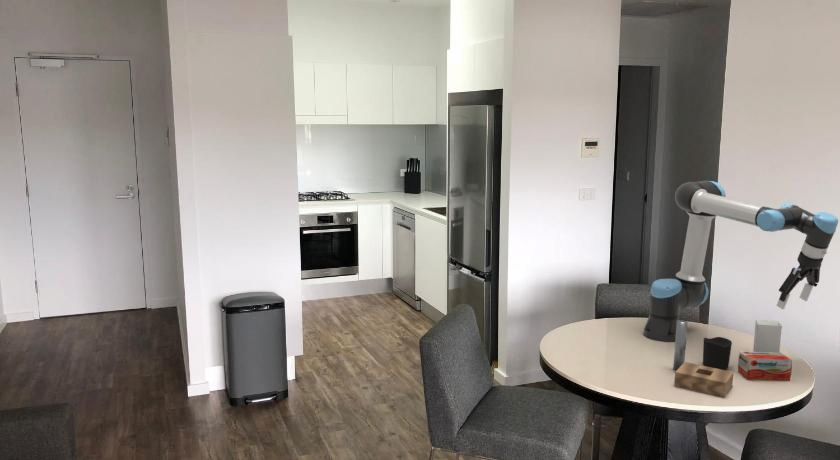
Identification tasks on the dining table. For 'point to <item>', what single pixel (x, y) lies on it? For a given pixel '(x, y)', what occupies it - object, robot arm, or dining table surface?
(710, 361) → the pen holder
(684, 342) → the pin
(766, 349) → the skincare box
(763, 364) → the medicine box
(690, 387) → the socket block
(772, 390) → the dining table surface
